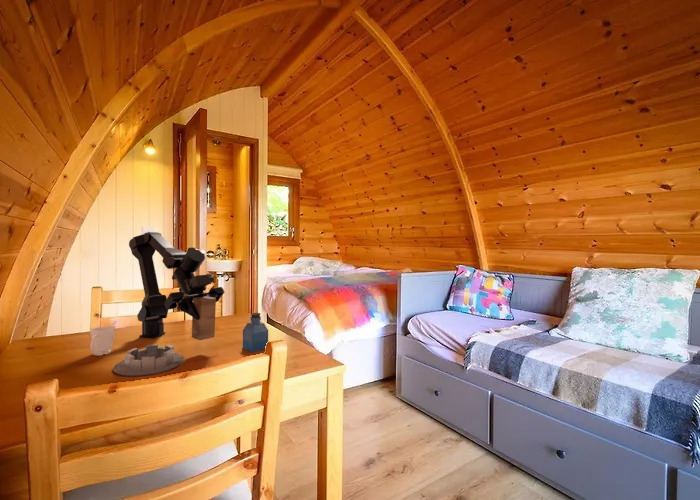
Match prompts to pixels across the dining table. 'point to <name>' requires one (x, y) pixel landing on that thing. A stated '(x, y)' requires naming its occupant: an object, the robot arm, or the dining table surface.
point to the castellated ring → (148, 361)
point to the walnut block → (204, 318)
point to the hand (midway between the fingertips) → (206, 317)
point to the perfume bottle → (255, 334)
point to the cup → (102, 339)
